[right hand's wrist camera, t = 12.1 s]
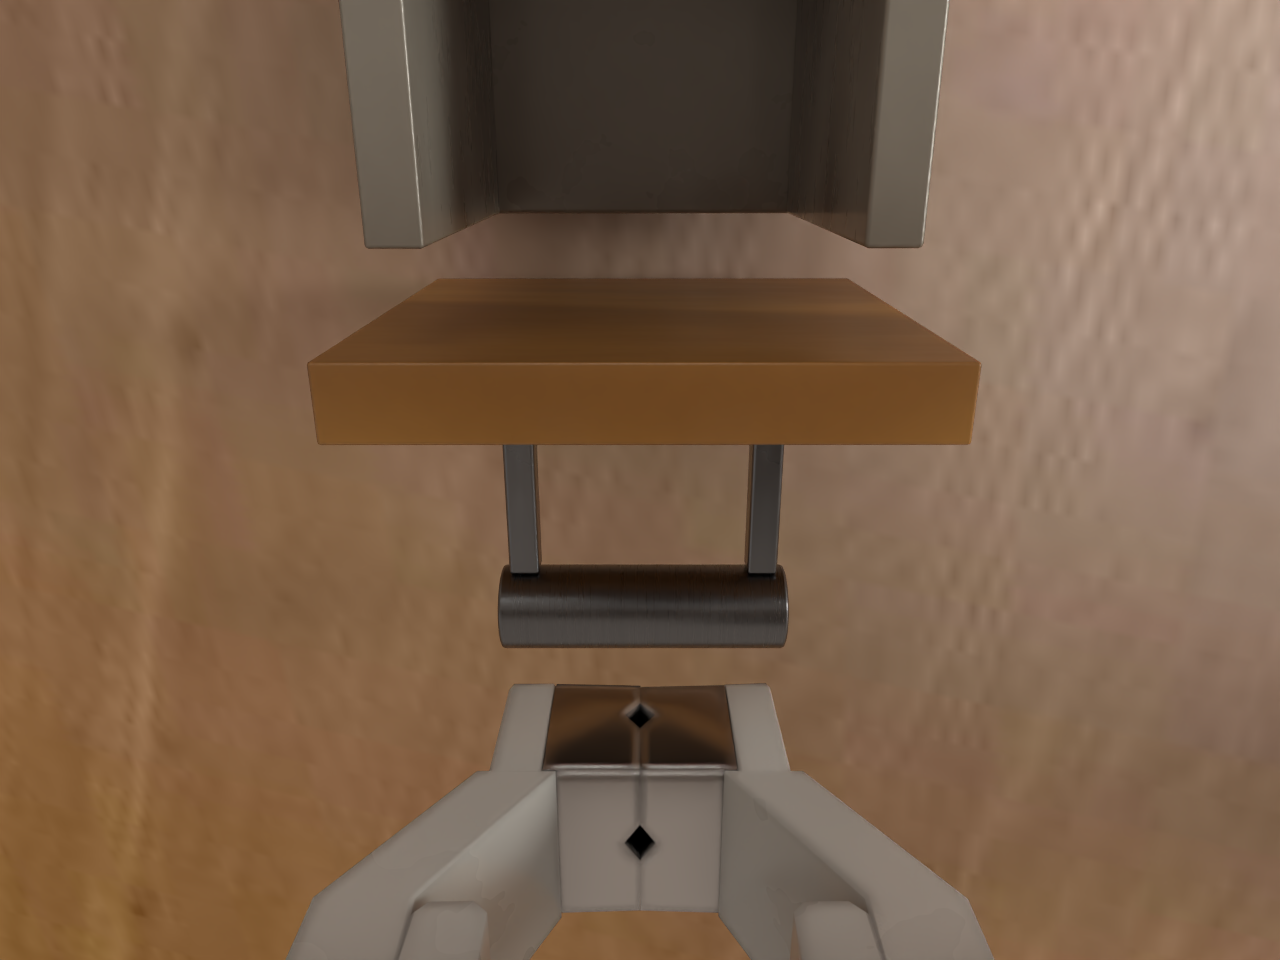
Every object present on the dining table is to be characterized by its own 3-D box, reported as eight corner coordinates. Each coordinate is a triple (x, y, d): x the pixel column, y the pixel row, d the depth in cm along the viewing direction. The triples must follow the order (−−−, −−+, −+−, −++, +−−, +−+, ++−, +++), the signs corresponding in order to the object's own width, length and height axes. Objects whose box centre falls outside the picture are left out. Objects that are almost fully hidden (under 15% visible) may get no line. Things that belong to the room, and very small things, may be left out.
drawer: (825, 562, 22) (925, 784, 15) (459, 561, 22) (362, 784, 15) (926, -690, 15) (1261, -1677, 7) (360, -689, 15) (29, -1674, 7)
